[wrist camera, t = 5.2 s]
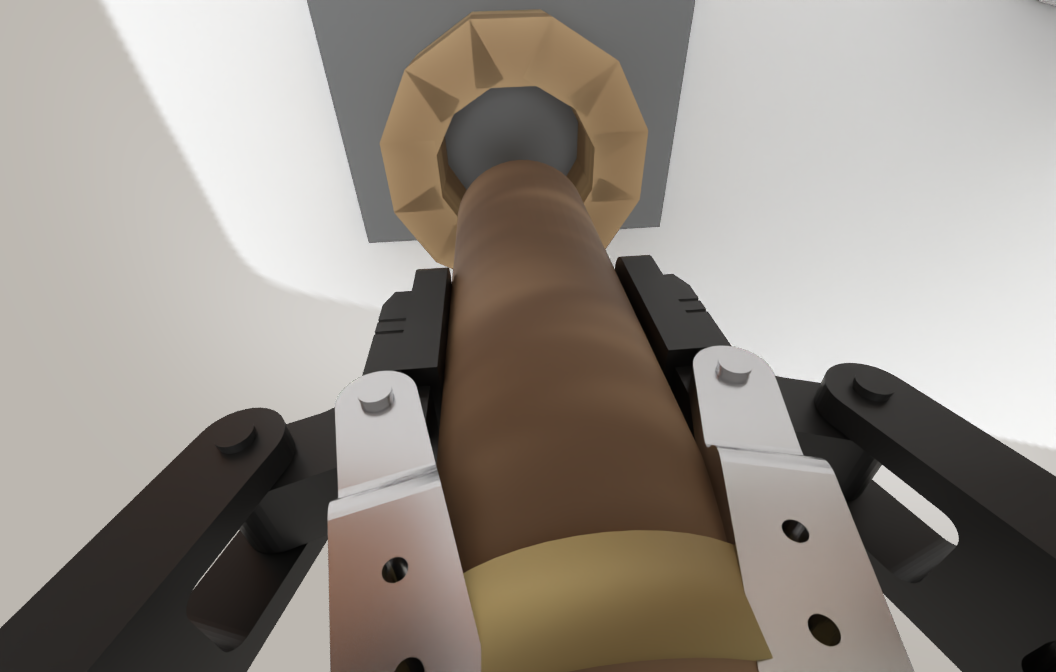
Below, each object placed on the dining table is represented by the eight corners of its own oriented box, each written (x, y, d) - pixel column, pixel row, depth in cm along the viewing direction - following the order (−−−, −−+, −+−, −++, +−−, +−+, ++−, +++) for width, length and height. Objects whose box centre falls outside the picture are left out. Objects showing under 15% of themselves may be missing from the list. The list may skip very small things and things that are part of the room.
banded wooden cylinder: (591, 152, 14) (1109, 946, 2) (584, 278, 16) (821, 945, 5) (445, 160, 13) (283, 1067, 2) (461, 286, 16) (424, 1002, 5)
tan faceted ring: (632, 5, 19) (663, 12, 15) (611, 238, 25) (629, 276, 21) (377, 14, 18) (354, 23, 15) (420, 249, 24) (410, 290, 21)
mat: (728, -245, 15) (734, -251, 15) (656, 222, 25) (659, 226, 24) (250, -240, 14) (244, -245, 14) (370, 238, 24) (368, 242, 24)
